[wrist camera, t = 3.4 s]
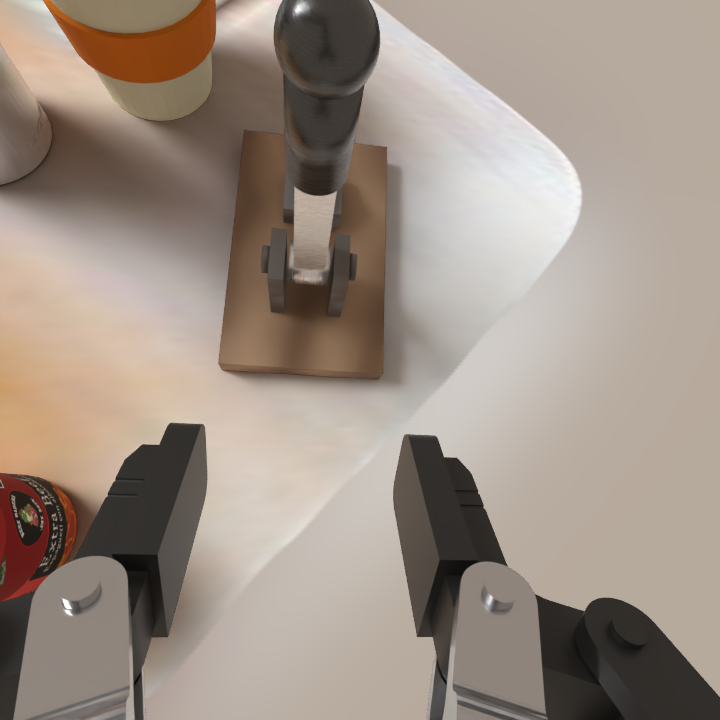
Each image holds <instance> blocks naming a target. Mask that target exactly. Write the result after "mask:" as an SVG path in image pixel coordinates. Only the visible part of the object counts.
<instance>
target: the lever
mask: <svg viewBox="0 0 720 720" xmlns="http://www.w3.org/2000/svg"><path fill="white" fill-rule="evenodd" d="M274 45H275V51H276V55H277V59H278V62H279V64H280V66H281V68H282V70H283V78H284V135H285V171H286V175H287V177H288V179H289V181H290V182H291V183H292V185H293V186H294V240H291V243H290V256H289V275H288V283H297V284H309V285H321V286H328V280H329V269H330V254H331V244H329V240H330V233H331V227H332V220H333V213H334V207H335V200H336V194H337V191H338V190H339V189H340V188H341V187H342V186H343V185H344V184H345V182H346V180H347V178H348V173H349V168H350V162H351V157H352V151H353V145H354V140H355V134H356V129H357V123H358V118H359V112H360V106H361V101H362V95H363V90H364V84H365V83H366V81H367V80H368V79H369V77H370V76H371V74H372V72H373V70H374V68H375V65H376V62H377V59H378V55H379V48H380V30H379V24H378V20H377V17H376V14H375V11H374V9H373V7H372V5H371V3H370V1H369V0H283V1H282V3H281V4H280V7H279V9H278V12H277V15H276V20H275V25H274Z"/></svg>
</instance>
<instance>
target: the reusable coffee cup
mask: <svg viewBox="0 0 720 720" xmlns="http://www.w3.org/2000/svg"><path fill="white" fill-rule="evenodd" d="M43 1H44V3H45V4H46V6H47V7H48V9H49V10H50V12H51V13H52V15H53V17H54V18H55V20H56V21H57V23H58V24H59V26H60V27H61V29H62V30H63V32H64V33H65V35H66V36H67V38H68V39H69V41H70V42H71V44H72V46H73V47H74V49H75V50H76V52H77V53H78V55H79V56H80V57H81V58H82V59H83V60H84V61H85V62H86V63H87V64H88V65H90V66H91V67H93V68H94V70H95V71H96V73H97V74H98V76H99V77H100V79H101V81H102V82H103V84H104V85H105V87H106V88H107V90H108V92H109V93H110V95H111V96H112V98H113V99H114V101H115V102H116V103H117V104H118V105H119V106H120V107H121V108H123V109H124V110H126V111H127V112H129V113H130V114H133V115H135V116H137V117H140V118H144V119H147V120H155V121H167V120H174V119H178V118H182V117H184V116H186V115H189V114H191V113H192V112H194V111H195V110H197V109H198V108H199V107H200V106H201V105H202V104H203V103H204V102H205V101H206V99H207V98H208V96H209V94H210V91H211V88H212V54H211V49H212V46H213V44H214V41H215V34H216V3H215V0H43Z"/></svg>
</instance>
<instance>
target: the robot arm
mask: <svg viewBox="0 0 720 720" xmlns="http://www.w3.org/2000/svg"><path fill="white" fill-rule="evenodd" d="M51 138H52V130H51V125H50V122H49V120H48V117H47V115H46V113H45V112H44V110H43V109H42V107H41V106H40V104H39V103H38V101H37V99H36V98H35V96H34V95H33V93H32V92H31V90H30V89H29V87H28V86H27V84H26V82H25V81H24V79H23V78H22V76H21V74H20V73H19V71H18V70H17V68H16V67H15V65H14V63H13V62H12V60H11V59H10V57H9V56H8V54H7V53H6V51H5V50H4V48H3V46H2V45H1V43H0V185H2V184H6V183H10V182H12V181H15V180H17V179H20V178H22V177H23V176H25V175H27V174H28V173H30V172H31V171H33V170H34V169H35V168H36V167H37V166H38V165H39V164H40V163H41V162H42V160H43V159H44V157H45V156H46V154H47V153H48V150H49V147H50V145H51ZM206 489H207V457H206V436H205V427H204V425H203V424H185V423H170V424H169V425H168V426H167V429H166V431H165V433H164V435H163V438H162V440H161V442H160V445H146V444H143V445H141V446H140V447H139V448H138V449H137V450H136V451H134V452H133V453H132V454H131V455H130V456H129V457H128V458H126V459H125V461H124V463H123V464H122V466H121V468H120V470H119V472H118V474H117V476H116V480H115V482H113V484H112V486H111V488H110V490H109V492H108V497H106V498H105V500H104V502H103V504H102V506H101V508H100V510H99V512H98V514H97V516H96V518H95V520H94V522H93V524H92V526H91V528H90V530H89V532H88V533H87V535H86V537H85V539H84V541H83V543H82V545H81V547H80V549H79V551H78V553H77V555H76V557H75V559H74V560H73V561H71V562H69V563H67V564H65V565H63V566H61V567H59V568H58V569H56V570H55V571H54V572H52V573H51V574H50V575H49V576H48V577H47V578H46V579H45V580H44V581H43V582H42V583H41V584H40V586H39V587H38V589H37V590H36V591H34V592H31V593H29V594H26V595H23V596H20V597H17V598H13V599H9V600H5V601H1V602H0V720H146V709H145V686H144V669H143V664H144V661H145V657H146V654H147V651H148V647H149V644H150V641H151V637H168V635H169V631H170V628H171V624H172V620H173V616H174V613H175V609H176V605H177V602H178V598H179V594H180V590H181V587H182V583H183V579H184V576H185V572H186V568H187V564H188V561H189V557H190V553H191V549H192V546H193V542H194V538H195V535H196V531H197V527H198V523H199V520H200V516H201V512H202V509H203V505H204V501H205V496H206ZM393 501H394V510H395V516H396V521H397V527H398V532H399V538H400V543H401V549H402V555H403V560H404V566H405V572H406V576H407V582H408V588H409V594H410V600H411V605H412V611H413V617H414V622H415V628H416V633H417V637H433V640H434V645H435V650H436V656H435V659H434V662H433V667H432V674H431V683H430V691H429V699H428V708H427V716H426V720H720V697H719V696H718V695H717V694H716V692H715V691H714V690H713V689H712V688H711V687H710V686H709V685H708V683H707V682H706V681H705V680H704V679H703V678H702V677H701V676H700V674H699V673H698V672H697V671H696V670H695V669H694V667H693V666H692V665H691V664H690V663H689V662H688V661H687V659H686V658H685V657H684V656H683V655H682V654H681V653H680V651H679V650H678V649H677V648H676V647H675V646H674V645H673V643H672V642H671V641H670V640H669V639H668V638H667V637H666V635H665V634H664V633H663V632H662V631H661V630H660V629H659V628H658V627H657V625H656V624H655V623H654V622H653V621H652V620H651V619H650V618H649V617H648V616H647V615H645V614H644V613H643V612H642V611H640V610H639V609H637V608H636V607H634V606H632V605H630V604H628V603H626V602H624V601H621V600H618V599H614V598H599V599H596V600H594V601H592V602H591V603H590V604H589V605H588V606H587V608H586V610H585V611H581V610H578V609H574V608H572V607H569V606H565V605H562V604H559V603H556V602H552V601H549V600H547V599H544V598H542V597H540V596H538V595H536V594H534V592H533V590H532V588H531V587H530V585H529V584H528V583H527V581H526V580H525V579H524V578H523V577H522V576H520V575H519V574H518V573H517V572H516V571H514V570H512V569H511V568H509V567H508V566H507V564H506V561H505V559H504V556H503V554H502V551H501V549H500V546H499V543H498V541H497V538H496V536H495V533H494V530H493V528H492V525H491V523H490V520H489V518H488V515H487V512H486V510H485V509H484V508H483V502H482V500H481V497H480V495H479V494H478V489H477V487H476V484H475V482H474V479H473V477H472V474H471V473H470V471H469V470H468V469H467V468H466V467H465V466H464V465H463V464H462V463H461V462H460V461H459V460H458V459H457V458H446V457H444V456H443V453H442V450H441V447H440V444H439V441H438V439H437V437H436V436H430V435H409V434H406V435H405V436H404V438H403V441H402V446H401V451H400V456H399V461H398V466H397V471H396V476H395V481H394V490H393Z"/></svg>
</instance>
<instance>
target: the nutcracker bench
mask: <svg viewBox="0 0 720 720" xmlns="http://www.w3.org/2000/svg"><path fill="white" fill-rule="evenodd" d="M386 167H387V147H381V146H373V145H364V144H356V143H354V145H353V151H352V157H351V162H350V168H349V173H348V178H347V180H346V182H345V184H344V185H343V186H342V187H341V188H340V189H339V190H338V191H337V194H336V200H335V207H334V213H333V220H332V227H331V233H330V240H329V244H331V254H330V269H329V280H328V286H321V285H309V284H297V283H288V275H289V256H290V243H291V240H294V186H293V185H292V183H291V182H290V181H289V179H288V177H287V175H286V171H285V135H281V134H272V133H264V132H256V131H247V130H244V137H243V146H242V155H241V164H240V173H239V182H238V191H237V200H236V209H235V218H234V227H233V236H232V245H231V254H230V263H229V272H228V281H227V290H226V299H225V308H224V317H223V326H222V335H221V344H220V353H219V362H218V364H219V365H220V367H221V369H222V370H230V371H247V372H263V373H280V374H296V375H313V376H329V377H346V378H363V379H379V378H380V377H381V375H382V374H383V336H384V280H385V224H386Z"/></svg>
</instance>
